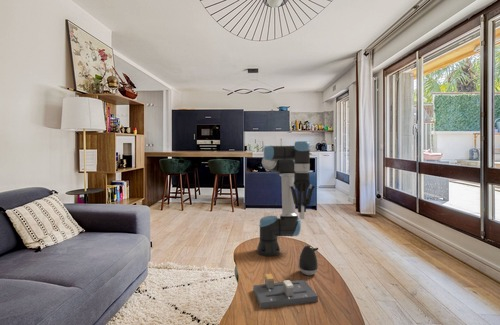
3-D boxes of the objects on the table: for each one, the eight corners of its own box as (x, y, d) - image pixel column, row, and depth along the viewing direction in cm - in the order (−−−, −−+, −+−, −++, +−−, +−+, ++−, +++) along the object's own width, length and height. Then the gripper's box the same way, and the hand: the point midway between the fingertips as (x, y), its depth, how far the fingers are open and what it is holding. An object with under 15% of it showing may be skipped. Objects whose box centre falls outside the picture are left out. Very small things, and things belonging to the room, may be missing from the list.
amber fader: (265, 283, 128) (265, 274, 128) (271, 282, 128) (271, 273, 128) (267, 288, 123) (267, 278, 123) (274, 288, 124) (274, 278, 123)
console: (253, 290, 127) (253, 285, 127) (304, 284, 132) (304, 279, 132) (260, 308, 112) (260, 302, 112) (317, 301, 117) (317, 295, 117)
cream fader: (283, 290, 121) (283, 280, 121) (289, 289, 122) (289, 279, 122) (286, 296, 116) (286, 286, 116) (293, 295, 117) (293, 285, 117)
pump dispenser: (318, 278, 139) (319, 249, 138) (298, 276, 141) (298, 248, 140) (317, 269, 149) (317, 243, 148) (298, 268, 151) (299, 241, 150)
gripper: (292, 173, 128) (292, 221, 129) (317, 172, 131) (317, 219, 132) (287, 171, 136) (287, 217, 136) (310, 171, 138) (310, 216, 139)
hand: (301, 218), depth 134 cm, fingers closed
